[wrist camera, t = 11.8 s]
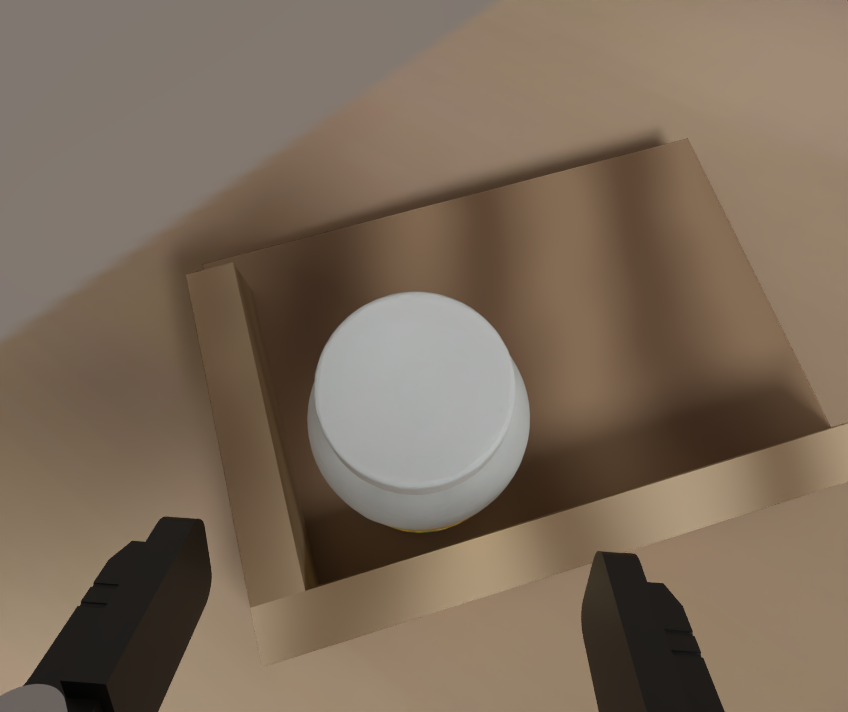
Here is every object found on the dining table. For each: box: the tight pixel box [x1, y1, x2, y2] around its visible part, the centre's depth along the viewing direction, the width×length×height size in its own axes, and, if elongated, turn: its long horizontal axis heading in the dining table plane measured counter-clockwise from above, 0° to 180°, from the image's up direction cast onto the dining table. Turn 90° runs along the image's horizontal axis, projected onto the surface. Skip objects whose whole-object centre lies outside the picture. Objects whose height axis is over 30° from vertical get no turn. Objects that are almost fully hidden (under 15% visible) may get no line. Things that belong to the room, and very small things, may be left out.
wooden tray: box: [186, 138, 848, 667], centre depth 21 cm, size 20×14×4 cm
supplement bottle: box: [307, 292, 530, 533], centre depth 16 cm, size 5×5×10 cm
